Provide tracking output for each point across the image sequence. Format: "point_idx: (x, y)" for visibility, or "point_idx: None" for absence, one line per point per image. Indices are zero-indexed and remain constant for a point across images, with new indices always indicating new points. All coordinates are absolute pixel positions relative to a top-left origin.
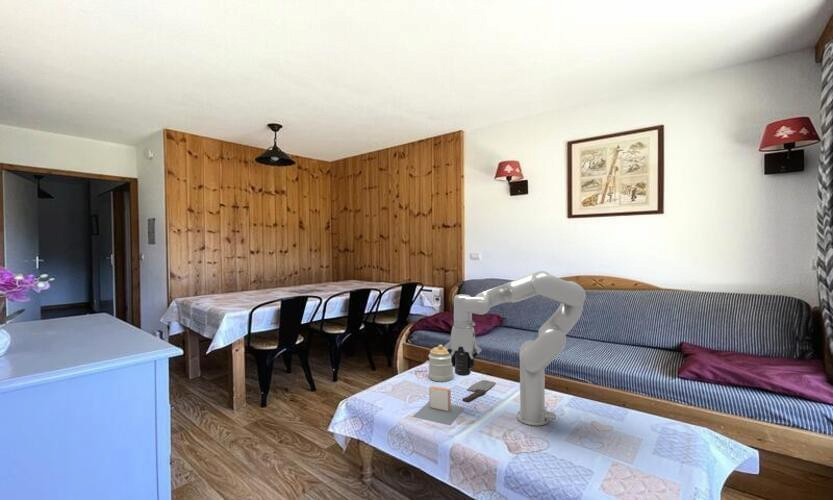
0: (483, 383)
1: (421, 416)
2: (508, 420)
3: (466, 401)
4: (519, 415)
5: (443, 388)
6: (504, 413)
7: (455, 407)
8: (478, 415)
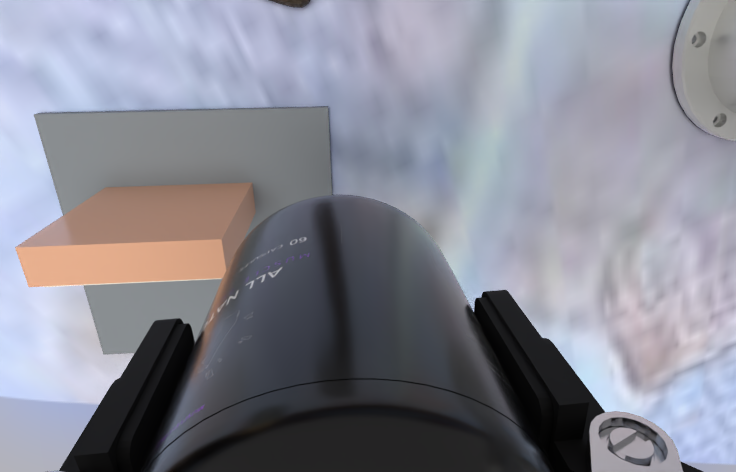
0: None
1: (146, 331)
2: (620, 132)
3: (295, 6)
4: (701, 76)
5: (158, 255)
6: (590, 45)
7: (263, 135)
8: (435, 153)
